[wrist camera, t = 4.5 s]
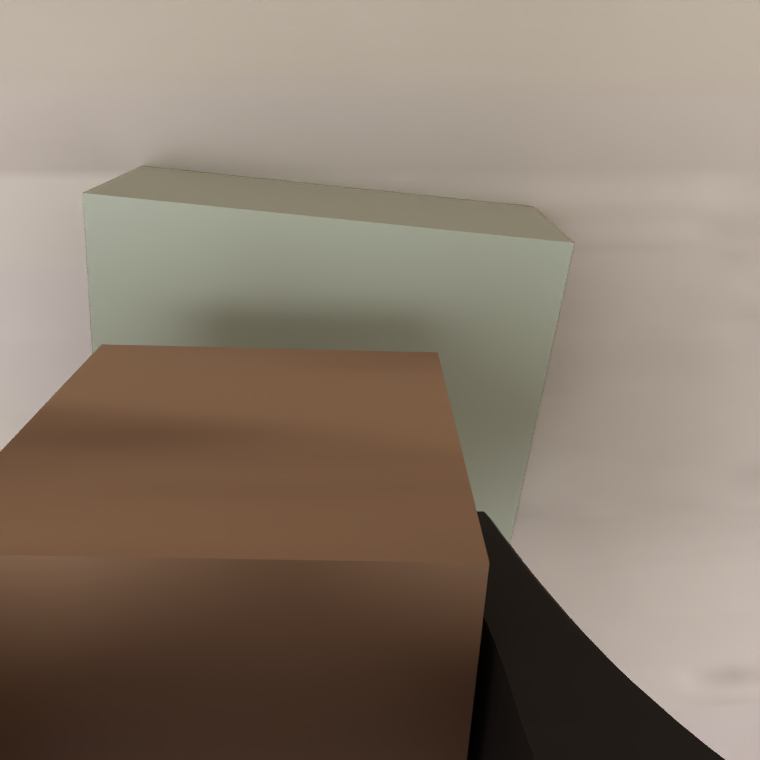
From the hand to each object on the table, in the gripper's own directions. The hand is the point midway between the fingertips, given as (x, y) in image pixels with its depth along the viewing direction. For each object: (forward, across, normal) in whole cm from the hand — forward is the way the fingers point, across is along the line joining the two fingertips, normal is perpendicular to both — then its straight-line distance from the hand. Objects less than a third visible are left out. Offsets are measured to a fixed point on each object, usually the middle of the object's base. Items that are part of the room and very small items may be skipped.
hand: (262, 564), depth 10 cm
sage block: (+9, 0, 0) cm, 9 cm away
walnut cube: (+2, 0, 0) cm, 2 cm away
